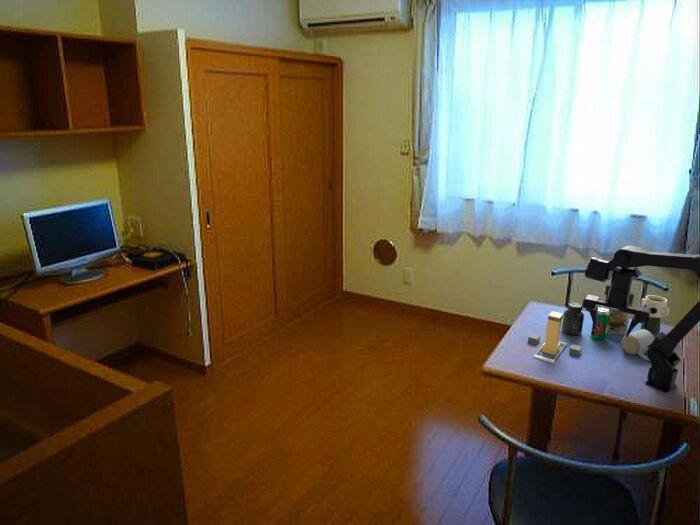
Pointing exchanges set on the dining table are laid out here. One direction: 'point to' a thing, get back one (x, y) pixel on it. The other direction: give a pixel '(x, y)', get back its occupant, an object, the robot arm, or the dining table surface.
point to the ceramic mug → (637, 343)
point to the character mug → (654, 312)
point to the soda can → (601, 325)
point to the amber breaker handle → (553, 333)
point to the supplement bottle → (573, 320)
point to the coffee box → (618, 317)
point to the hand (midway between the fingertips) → (610, 332)
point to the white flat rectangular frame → (573, 350)
